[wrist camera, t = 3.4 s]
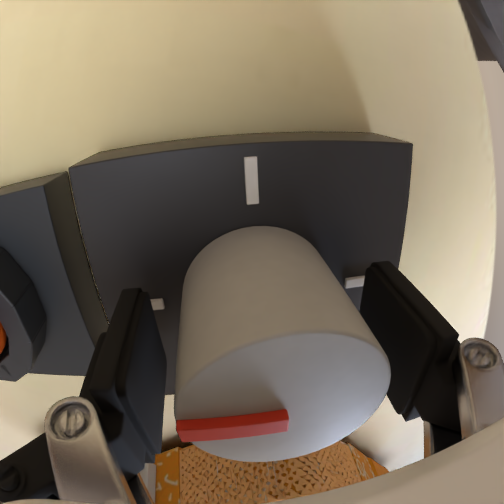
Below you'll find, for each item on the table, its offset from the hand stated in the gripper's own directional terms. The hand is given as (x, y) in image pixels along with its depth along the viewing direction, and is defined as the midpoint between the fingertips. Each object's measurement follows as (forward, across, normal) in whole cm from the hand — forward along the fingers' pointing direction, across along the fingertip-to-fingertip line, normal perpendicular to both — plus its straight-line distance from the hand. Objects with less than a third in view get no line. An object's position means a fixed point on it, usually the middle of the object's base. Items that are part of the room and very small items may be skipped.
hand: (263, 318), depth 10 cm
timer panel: (+4, 0, 0) cm, 4 cm away
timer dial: (+1, 0, 0) cm, 1 cm away
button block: (+4, +12, 0) cm, 13 cm away
